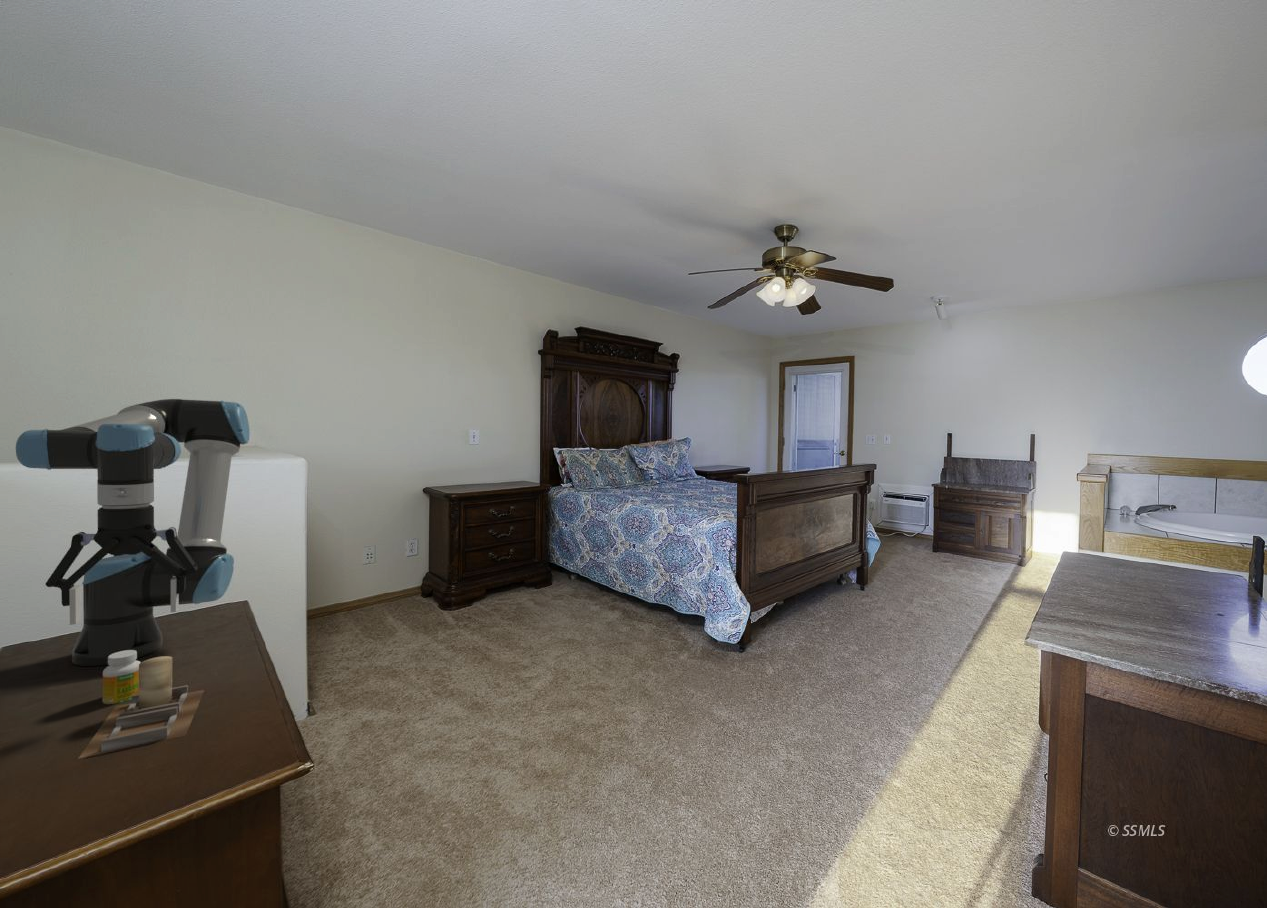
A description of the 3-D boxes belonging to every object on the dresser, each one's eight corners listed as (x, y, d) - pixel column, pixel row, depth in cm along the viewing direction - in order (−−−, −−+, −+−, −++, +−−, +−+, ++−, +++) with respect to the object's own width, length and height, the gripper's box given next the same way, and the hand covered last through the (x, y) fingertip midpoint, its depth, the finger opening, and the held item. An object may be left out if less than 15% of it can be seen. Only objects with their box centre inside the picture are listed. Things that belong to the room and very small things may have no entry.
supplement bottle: (116, 711, 96) (116, 661, 95) (94, 707, 97) (94, 658, 97) (148, 697, 101) (149, 650, 101) (127, 694, 102) (128, 646, 102)
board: (115, 712, 96) (115, 696, 95) (204, 695, 103) (204, 681, 102) (77, 766, 80) (77, 747, 80) (185, 742, 87) (185, 725, 87)
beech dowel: (142, 705, 96) (142, 659, 96) (174, 700, 98) (174, 654, 98) (135, 717, 92) (135, 669, 92) (168, 711, 94) (169, 663, 94)
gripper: (17, 512, 85) (19, 635, 86) (209, 505, 99) (208, 611, 100) (36, 505, 91) (38, 620, 92) (214, 499, 105) (214, 599, 106)
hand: (127, 616), depth 96 cm, fingers open, 13 cm apart
